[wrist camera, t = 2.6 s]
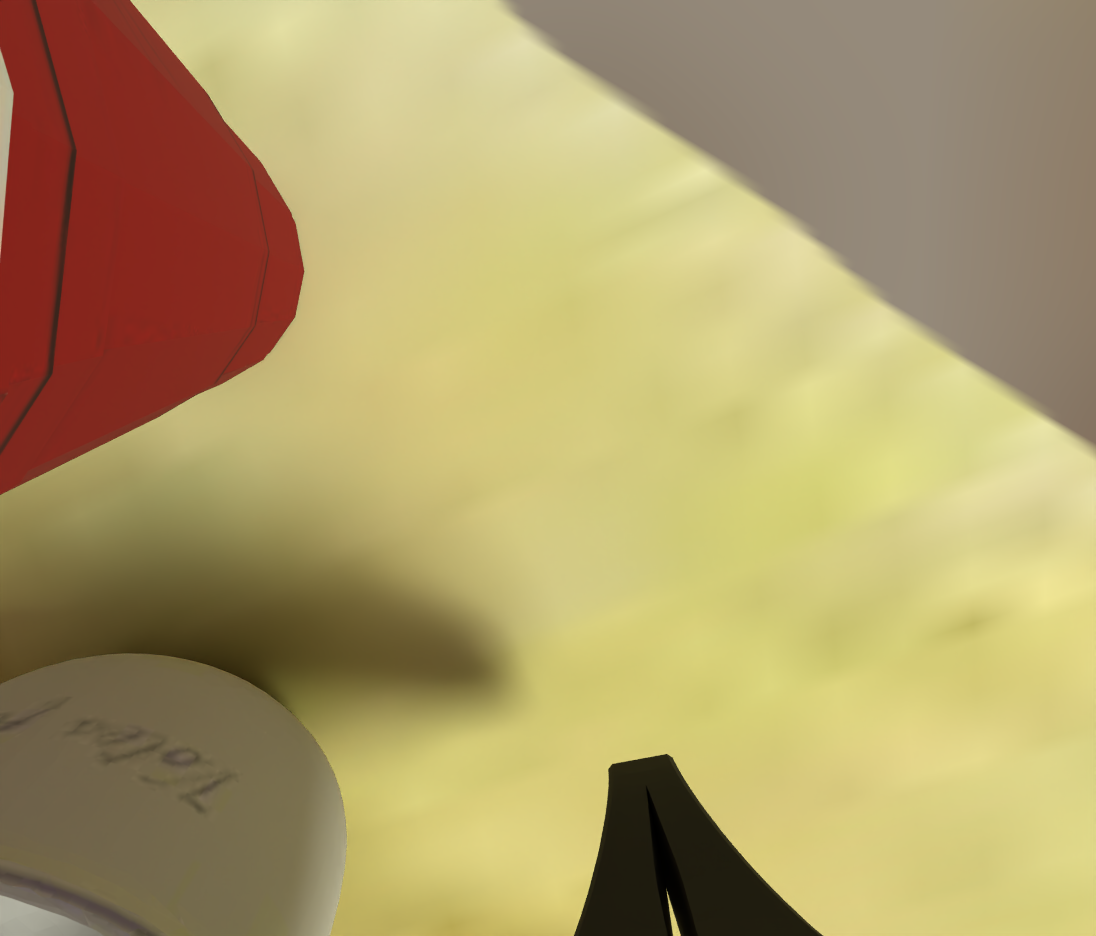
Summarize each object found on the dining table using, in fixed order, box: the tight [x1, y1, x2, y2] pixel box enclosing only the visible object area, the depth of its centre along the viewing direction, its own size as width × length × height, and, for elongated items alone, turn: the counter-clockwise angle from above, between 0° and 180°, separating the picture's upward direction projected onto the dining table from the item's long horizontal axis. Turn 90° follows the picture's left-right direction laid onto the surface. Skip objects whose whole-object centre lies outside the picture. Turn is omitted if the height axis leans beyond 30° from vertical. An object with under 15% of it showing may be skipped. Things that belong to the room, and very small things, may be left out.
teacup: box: [0, 653, 347, 936], centre depth 13 cm, size 14×11×8 cm
